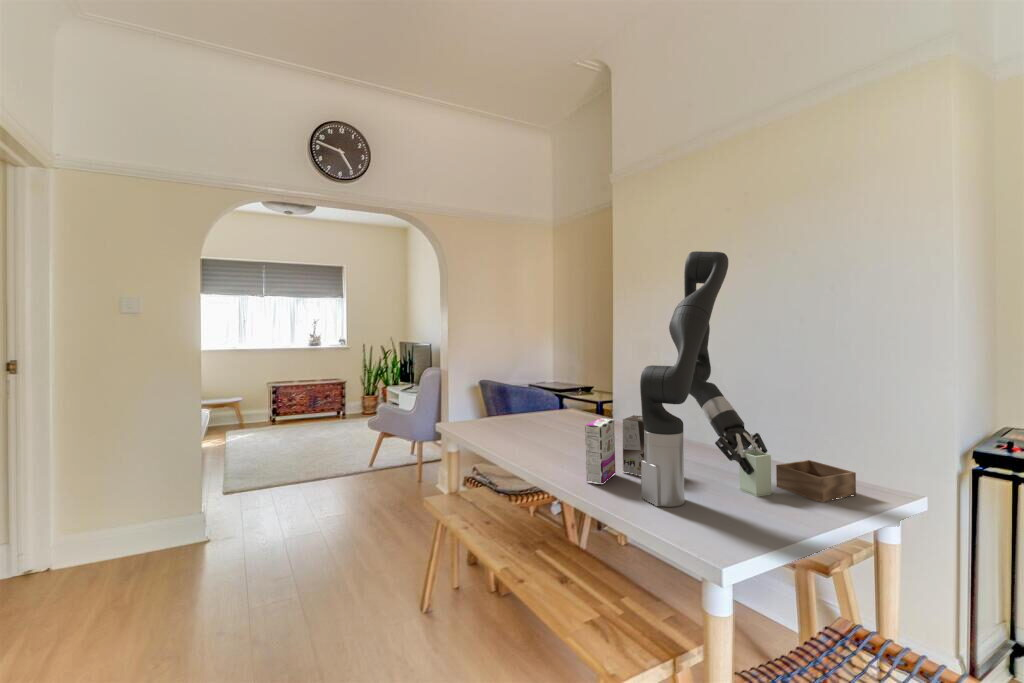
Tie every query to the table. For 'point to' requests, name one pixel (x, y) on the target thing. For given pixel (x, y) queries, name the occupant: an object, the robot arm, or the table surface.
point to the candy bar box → (600, 450)
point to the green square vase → (757, 474)
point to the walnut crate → (816, 480)
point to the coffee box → (633, 444)
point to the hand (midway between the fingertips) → (759, 471)
